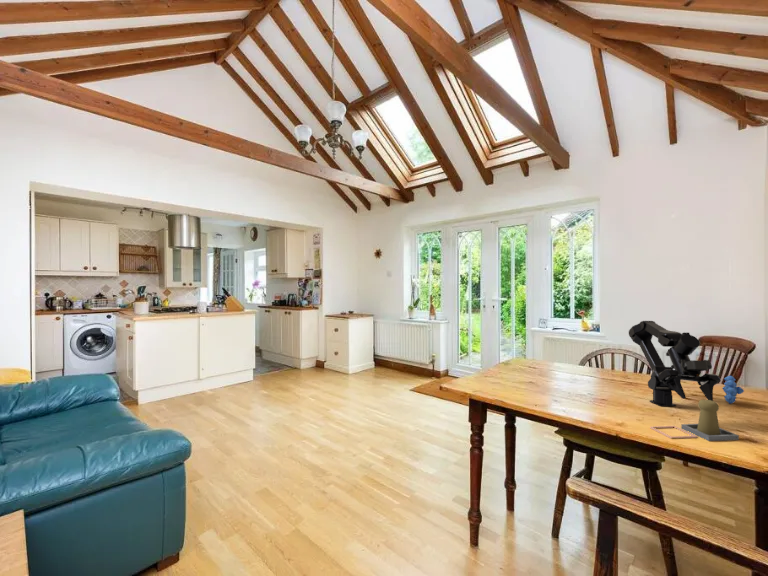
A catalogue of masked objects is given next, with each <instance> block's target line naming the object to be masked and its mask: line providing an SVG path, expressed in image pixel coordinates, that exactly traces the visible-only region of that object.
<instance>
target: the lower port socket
mask: <svg viewBox="0 0 768 576" xmlns="http://www.w3.org/2000/svg"><path fill="white" fill-rule="evenodd" d="M697 427H698V423H688V424H687V423H686V424H685V423H683V424H681V427H680V429H682V430H685V431H687V432H688V431H689V433H690V432H691V434H692V433H693V435H694V434H695V435H696V436H697V437H699V438H701V439H703V438H704V439H703V440H705V439H706V440H705V441H707V442H718V441H719V442H720V441H739V440H740V436H739V434H736V433H734V432H732V431H729V430H726V429H724V428H721V427H719V429H720V434H721V435H707V434H705V433H702V432H700V431H698V430H697Z"/></svg>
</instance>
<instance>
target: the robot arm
mask: <svg viewBox="0 0 768 576" xmlns="http://www.w3.org/2000/svg"><path fill="white" fill-rule="evenodd" d="M628 336H629V337H630V339H631V341H633V343H635V344H636V345H638V346H639V347H640V349H641V351H642V353H643V355H644V357H645V359H646V361H647V363H648V365H649V367H650V369H651V370H652V372H651V374H650V378H649V380H648V381H647V386H648V389H650V390H652V399H651V400H649V402H650V403H652V404H655V405H657V406H660V407H676V405H677V404H675V403H673V401H674V400H673V392H675V393H676V394H677V395H678V396H679V397H680V398H681V399H682V400H685V399H687V397H686V394H685V390H684V388H683V385H682V381H689V382H690V381H691V382H697V384H698V385H699V390H701V392H702V393H703V395H704V396H705V398H706V400H711V401H714V395H713V394H714V386H715V385H717V384H719V383H720V382H721V381H722V380H721V378H720V377H719V375H718V374H714V373H707V371H709V370H711V369H712V368H713V366H712V363H711V361H710V360H708V359H707V360H706V359H704V360H697V359H696V360H691V358H690V357H689V355H692V354H693V353H694V352H695V351H696V350H697V348H699V347H700V346H701V341H700V339H698V338H697V337H696V336H694V335H692V334H690V332H682V333H681V332H679V331H676V330H675V331H674V330H668V329H666V328H664V327H663V326H661V325H659V324H658V323H656V322H655V321H653V320H641V321H640V322H639V323H637V324H635V325H632V326H631V327H630V329H628ZM653 336H654V337H655V338H656V339H657V342H658V343H659V344H660V346H662V347H664V348H665V347H666V348H669V349H667V350H666V351H667V352H666V353H665V356H667V357H669V359H670V361H671V364H672V365H671V366H666V365H665V364H664V362H663V360H662V358H661V356H660V355H659V352H658V351H657V349H656V347H655V346H654V344H653V342H652V339H653ZM703 371H704V372H706V373H704V374H702V372H703ZM701 374H702V375H701ZM698 375H701V376H698ZM681 380H682V381H681Z"/></svg>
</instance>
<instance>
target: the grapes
mask: <svg viewBox="0 0 768 576" xmlns="http://www.w3.org/2000/svg"><path fill="white" fill-rule="evenodd" d="M724 381H725V382H724V383H723V385H724V386H723V387H722V388H721V389H722V390H723V392H724V393H725V395H724V396H723V397H724V400H725V401H726V402H727V403H728V404H733V403H735V402H736V399H737V396H738V395H741V394H743V393H744V392H745V390H744V388H742V387H740V386H738V385H737V383H736V382H735V381H737V379H736V378H735V377H734V376H732V375H727V376H726V377H724Z"/></svg>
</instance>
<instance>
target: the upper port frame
mask: <svg viewBox="0 0 768 576" xmlns="http://www.w3.org/2000/svg"><path fill="white" fill-rule="evenodd" d="M673 427H674V428H673ZM649 428H650V429H651V430H654V431H655V432H657V433H659V434H661V435H662V436H664V437H667V438H668V439H671V438H680V439H697V438H698V436H697V435H694V434H692V433H690V432H688V431H686V430H684V429H682V428H681V427H678V426H675V425H658V426H654V425H653V426H649ZM655 428H657V429H655ZM675 428H677V429H676V430H678V429H679V430H678V431H680V430H681V431H680V432H682V431H683V432H682V433H684V432H685V433H684V434H686V433H687V434H686V435H681V436H680V435H678V436H677V435H676V436H675V435H673V436H671V435H670V434H667V433H666V432H663V431H661V430H660V429H675ZM688 434H689V435H688ZM690 435H691V436H690Z"/></svg>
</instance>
